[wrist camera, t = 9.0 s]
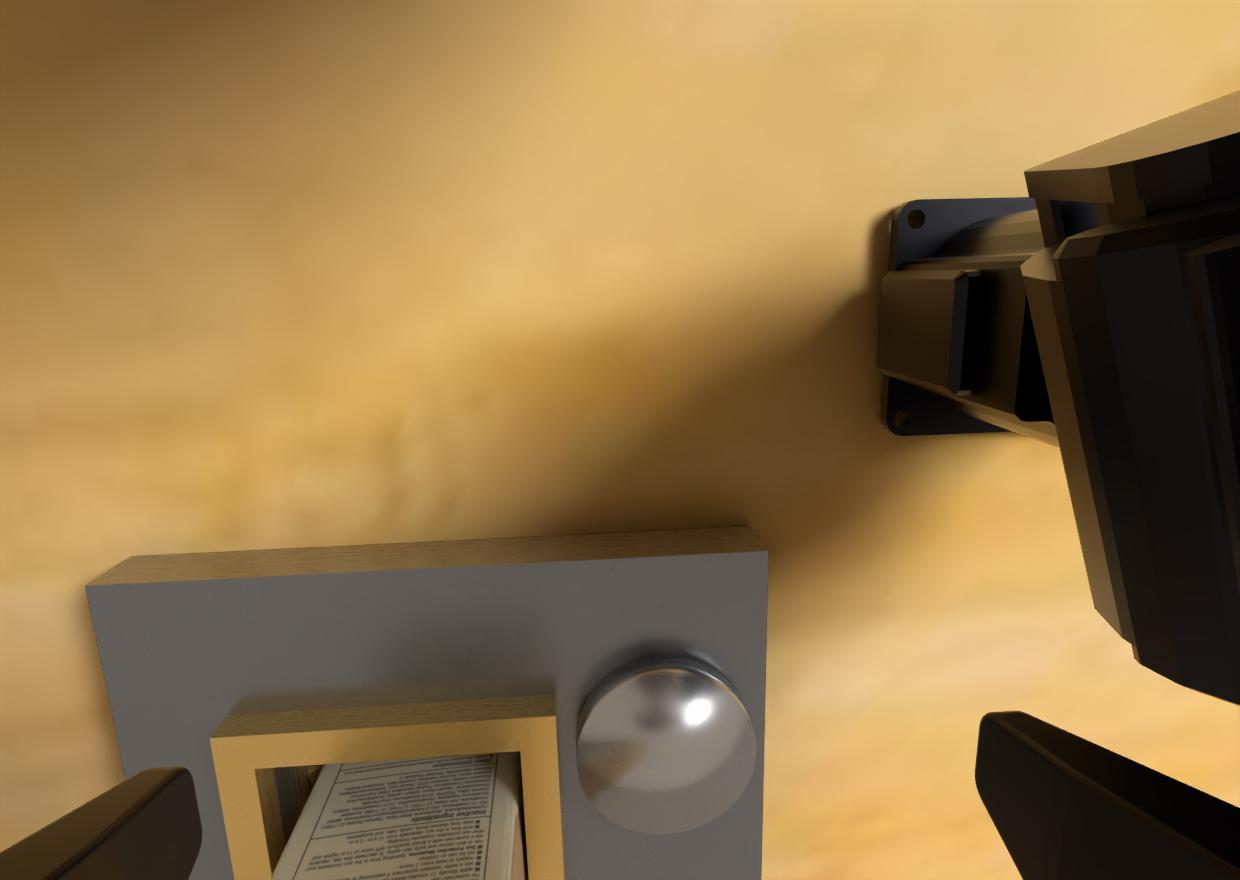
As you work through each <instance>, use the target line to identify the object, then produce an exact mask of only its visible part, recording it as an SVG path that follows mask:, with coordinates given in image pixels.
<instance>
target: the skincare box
mask: <svg viewBox="0 0 1240 880" xmlns="http://www.w3.org/2000/svg"><path fill="white" fill-rule="evenodd" d="M270 880H529V875H528V860H527V845H526V830H525V815H524V799H523V784H522V769H521V754H520V751H514V752H499V753H484V754H469V755H454V756H440V757H425V758H410V759H395V760H380V761H365V762H350V763H335V764H324V766H323V768H322V770H321V772H320V774H319V776H318V779H317V781H316V783H315V785H314V787H313V789H312V791H311V793H310V796H309V798H308V800H307V802H306V804H305V806H304V808H303V810H302V813H301V815H300V817H299V819H298V821H297V823H296V825H295V828H294V830H293V832H292V834H291V836H290V838H289V841H288V843H287V845H286V847H285V849H284V851H283V853H282V855H281V857H280V859H279V862H278V864H277V866H276V868H275V870H274V872H273V875H272V877H271V879H270Z"/></svg>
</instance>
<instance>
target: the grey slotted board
mask: <svg viewBox="0 0 1240 880" xmlns="http://www.w3.org/2000/svg"><path fill="white" fill-rule="evenodd" d="M768 554H769V551H768V549H767V548H766V547H765V545H764V544H763V543H762V541H761V540H760V538H759V537H758V536H757V534H756V533H755V532H754V530H753V529H752V527H751V526H743V527H722V528H702V529H681V530H661V531H640V532H620V533H599V534H579V535H559V536H538V537H518V538H497V539H477V540H456V541H436V542H416V543H395V544H375V545H354V546H334V547H313V548H293V549H272V550H252V551H232V552H211V553H191V554H170V555H150V556H131V557H130V558H128V559H126V560H125V561H123V562H122V563H120V564H119V565H117V566H115V567H114V568H112V569H111V570H109V571H108V572H106V573H104V574H103V575H101V576H100V577H98V578H97V579H95V580H93V581H92V582H90V583H89V584H87V585H86V586H85V588H86V593H87V598H88V603H89V607H90V612H91V617H92V622H93V626H94V631H95V636H96V641H97V645H98V650H99V655H100V660H101V664H102V669H103V674H104V679H105V683H106V688H107V693H108V698H109V702H110V707H111V712H112V717H113V721H114V726H115V731H116V736H117V740H118V745H119V750H120V755H121V759H122V764H123V769H124V774H125V778H126V780H127V779H129V778H131V777H132V776H134V775H136V774H138V773H139V772H141V771H143V770H146V769H149V768H160V767H176V766H183V767H185V768H187V769H188V770H189V771H190V772H191V774H192V777H193V781H194V786H195V792H196V797H197V802H198V808H199V813H200V819H201V824H202V843H201V848H200V852H199V855H198V858H197V860H196V862H195V865H194V867H193V870H192V872H191V875H190V877H189V879H188V880H270V879H271V877H272V875H273V872H274V870H275V868H276V866H277V864H278V862H279V859H280V857H281V855H282V853H283V851H284V849H285V847H286V845H287V843H288V841H289V838H290V836H291V834H292V832H293V830H294V828H295V825H296V823H297V821H298V819H299V817H300V815H301V813H302V810H303V808H304V806H305V804H306V802H307V800H308V798H309V796H310V792H309V785H308V778H307V771H306V765H321V764H335V763H350V762H365V761H380V760H395V759H410V758H425V757H440V756H454V755H469V754H484V753H499V752H514V751H520V754H521V769H522V784H523V799H524V815H525V830H526V845H527V860H528V875H529V880H761V868H762V823H763V778H764V733H765V689H766V644H767V599H768Z"/></svg>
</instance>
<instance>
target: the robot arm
mask: <svg viewBox="0 0 1240 880" xmlns="http://www.w3.org/2000/svg"><path fill="white" fill-rule="evenodd" d="M1024 174H1025V179H1026V184H1027V189H1028V193H1029V197H1023V198H974V199H926V200H914V201H909V202H905V203H903V204H901V205H900V206H899V207H897V209H896V210H895V212H894V213H893V217H892V224H891V241H890V259H889V272H888V273H887V274H886V275H885V276H884V278H883V279H882V280H881V289H880V307H879V326H878V344H877V362H876V365H877V367H878V369H879V370H880V371H881V372H882V373H883V381H882V398H881V416H880V418H881V424H882V425H883V427H884V428H885V429H886V430H887V431H889V432H891V433H893V434H895V435H899V436H913V435H937V434H961V433H985V432H1009V431H1013V432H1016V433H1019V434H1022V435H1025V436H1028V437H1031V438H1033V439H1036V440H1039V441H1042V442H1045V443H1048V444H1051V445H1054V446H1056V447H1059V448H1060V451H1061V456H1062V460H1063V465H1064V470H1065V474H1066V479H1067V484H1068V488H1069V493H1070V497H1071V502H1072V507H1073V511H1074V516H1075V521H1076V525H1077V530H1078V534H1079V539H1080V544H1081V548H1082V553H1083V557H1084V562H1085V567H1086V571H1087V576H1088V581H1089V585H1090V589H1091V594H1092V598H1093V602H1094V607H1095V609H1096V610H1097V611H1098V613H1099V614H1100V615H1101V616H1102V617H1103V618H1104V619H1105V620H1106V621H1107V622H1108V623H1109V624H1110V625H1111V626H1112V627H1113V628H1114V630H1115V631H1116V632H1117V633H1118V634H1119V635H1120V636H1121V637H1122V638H1123V639H1125V640H1126V641H1128V642H1129V643H1131V644H1132V649H1133V654H1134V659H1135V660H1137V661H1138V662H1139V663H1140V664H1141V665H1143V666H1145V667H1147V668H1149V669H1151V670H1152V671H1154V672H1156V673H1158V674H1160V675H1162V676H1164V677H1166V678H1168V679H1170V680H1172V681H1173V682H1175V683H1177V684H1180V685H1182V686H1184V687H1187V688H1189V689H1192V690H1194V691H1197V692H1200V693H1203V694H1206V695H1209V696H1212V697H1214V698H1217V699H1220V700H1223V701H1226V702H1229V703H1232V704H1235V705H1238V706H1240V91H1237V92H1234V93H1231V94H1229V95H1226V96H1223V97H1221V98H1218V99H1215V100H1213V101H1210V102H1207V103H1205V104H1202V105H1199V106H1197V107H1194V108H1191V109H1189V110H1186V111H1183V112H1181V113H1178V114H1175V115H1172V116H1170V117H1167V118H1164V119H1162V120H1159V121H1156V122H1154V123H1151V124H1148V125H1146V126H1143V127H1140V128H1138V129H1135V130H1132V131H1130V132H1127V133H1124V134H1121V135H1119V136H1116V137H1113V138H1111V139H1108V140H1105V141H1103V142H1100V143H1097V144H1095V145H1092V146H1089V147H1087V148H1084V149H1081V150H1079V151H1076V152H1073V153H1071V154H1068V155H1065V156H1062V157H1060V158H1057V159H1054V160H1052V161H1049V162H1046V163H1044V164H1041V165H1038V166H1036V167H1033V168H1030V169H1028V170H1025V171H1024ZM911 211H914V212H915V213H916V214H917V215H918V223H917V226H916V227H915V228H914V229H913V228H911V227H910V226H909V225H908V223H907V217H908V214H909V213H910V212H911ZM902 410H904V411H905V415H906V417H905V420H904V421H903V422H902V423H901V424H898V425H896V424H895V416H896V414H897V413H898V412H899V411H902ZM975 781H976V786H977V789H978V792H979V795H980V797H981V799H982V801H983V803H984V805H985V807H986V809H987V811H988V813H989V815H990V817H991V819H992V821H993V823H994V825H995V826H996V828H997V830H998V832H999V834H1000V836H1001V838H1002V840H1003V842H1004V844H1005V846H1006V848H1007V850H1008V852H1009V853H1010V855H1011V857H1012V859H1013V861H1014V863H1015V865H1016V867H1017V869H1018V871H1019V873H1020V875H1021V877H1022V879H1023V880H1240V808H1238V807H1236V806H1234V805H1232V804H1229V803H1227V802H1225V801H1223V800H1220V799H1218V798H1216V797H1214V796H1211V795H1209V794H1207V793H1205V792H1202V791H1200V790H1198V789H1196V788H1193V787H1191V786H1189V785H1187V784H1184V783H1182V782H1180V781H1178V780H1175V779H1173V778H1171V777H1169V776H1166V775H1164V774H1162V773H1160V772H1157V771H1155V770H1153V769H1150V768H1148V767H1146V766H1144V765H1141V764H1139V763H1137V762H1135V761H1132V760H1130V759H1128V758H1126V757H1123V756H1121V755H1119V754H1117V753H1114V752H1112V751H1110V750H1108V749H1105V748H1103V747H1101V746H1099V745H1096V744H1094V743H1092V742H1090V741H1087V740H1085V739H1083V738H1081V737H1078V736H1076V735H1074V734H1072V733H1069V732H1067V731H1065V730H1063V729H1060V728H1058V727H1056V726H1054V725H1051V724H1049V723H1047V722H1045V721H1042V720H1040V719H1038V718H1036V717H1033V716H1031V715H1029V714H1027V713H1024V712H1021V711H1003V712H989V713H987V714H986V715H984V716H983V717H982V719H981V721H980V726H979V736H978V746H977V756H976V766H975ZM201 843H202V824H201V819H200V813H199V808H198V802H197V797H196V792H195V786H194V781H193V777H192V774H191V772H190V771H189V770H188V769H187V768H185V767H183V766H176V767H160V768H149V769H146V770H143V771H141V772H139V773H138V774H136V775H134V776H132V777H131V778H129V779H127V780H125V781H124V782H122V783H120V784H118V785H117V786H115V787H113V788H112V789H110V790H108V791H106V792H105V793H103V794H101V795H99V796H98V797H96V798H94V799H92V800H91V801H89V802H87V803H86V804H84V805H82V806H80V807H79V808H77V809H75V810H73V811H72V812H70V813H68V814H66V815H65V816H63V817H61V818H60V819H58V820H56V821H54V822H53V823H51V824H49V825H47V826H46V827H44V828H42V829H41V830H39V831H37V832H35V833H34V834H32V835H30V836H28V837H27V838H25V839H23V840H21V841H20V842H18V843H16V844H15V845H13V846H11V847H9V848H8V849H6V850H4V851H2V852H1V853H0V880H188V879H189V877H190V875H191V872H192V870H193V867H194V865H195V862H196V860H197V858H198V855H199V852H200V848H201Z"/></svg>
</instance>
